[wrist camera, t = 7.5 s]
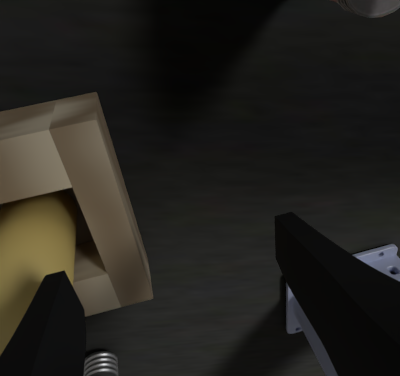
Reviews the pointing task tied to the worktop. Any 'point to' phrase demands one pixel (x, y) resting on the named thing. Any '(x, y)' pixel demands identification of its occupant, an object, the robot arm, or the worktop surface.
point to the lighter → (370, 7)
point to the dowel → (33, 251)
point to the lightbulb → (101, 364)
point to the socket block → (79, 194)
